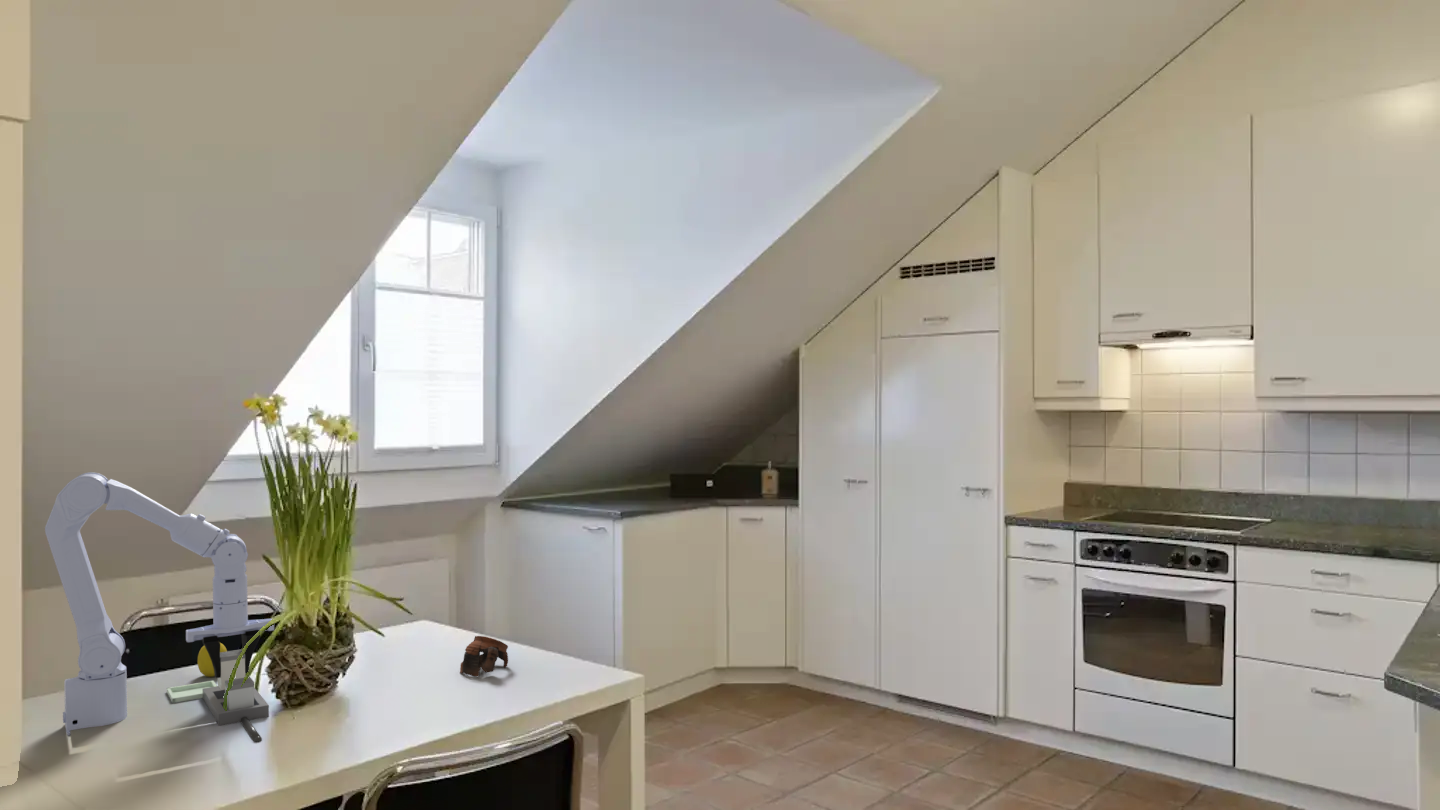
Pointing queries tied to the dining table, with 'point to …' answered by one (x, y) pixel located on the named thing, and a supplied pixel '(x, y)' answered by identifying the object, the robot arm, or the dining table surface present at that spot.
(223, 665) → the plug
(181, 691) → the tray
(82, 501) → the robot arm
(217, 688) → the power strip
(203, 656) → the lemon
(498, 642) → the brown belt with pouches
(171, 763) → the dining table surface
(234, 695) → the twin plug
